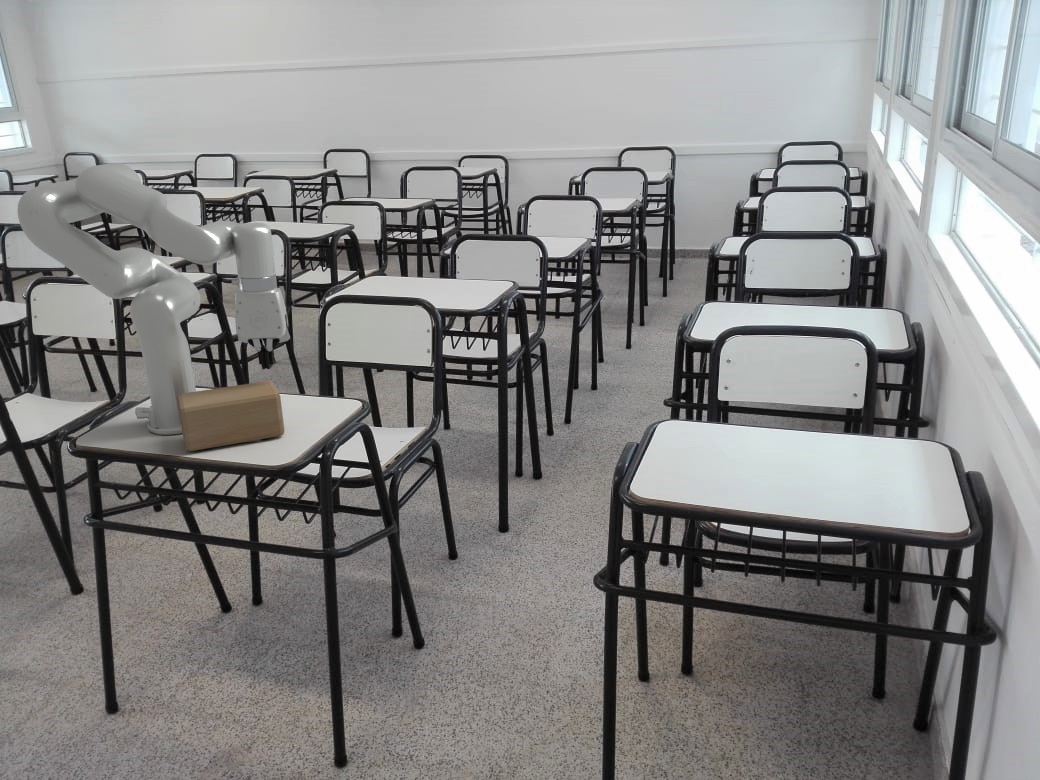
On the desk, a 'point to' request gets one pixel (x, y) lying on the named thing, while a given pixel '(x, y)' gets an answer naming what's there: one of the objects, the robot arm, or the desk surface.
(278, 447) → the desk surface
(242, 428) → the wooden block
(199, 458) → the desk surface
